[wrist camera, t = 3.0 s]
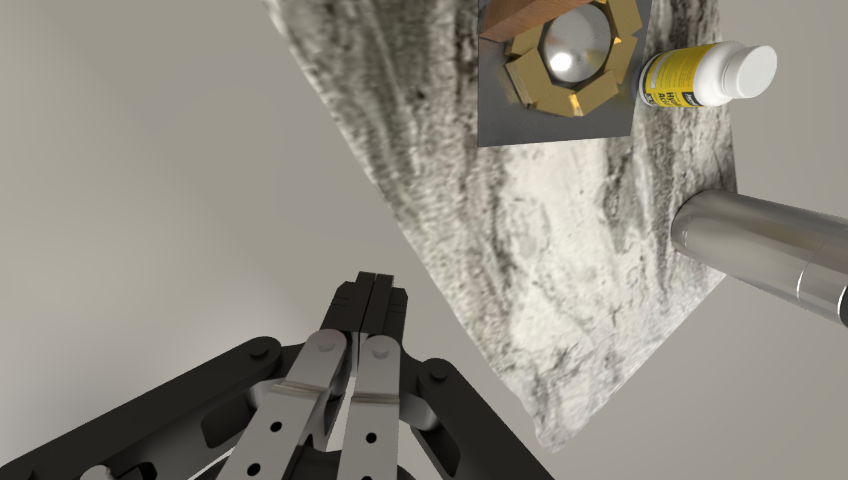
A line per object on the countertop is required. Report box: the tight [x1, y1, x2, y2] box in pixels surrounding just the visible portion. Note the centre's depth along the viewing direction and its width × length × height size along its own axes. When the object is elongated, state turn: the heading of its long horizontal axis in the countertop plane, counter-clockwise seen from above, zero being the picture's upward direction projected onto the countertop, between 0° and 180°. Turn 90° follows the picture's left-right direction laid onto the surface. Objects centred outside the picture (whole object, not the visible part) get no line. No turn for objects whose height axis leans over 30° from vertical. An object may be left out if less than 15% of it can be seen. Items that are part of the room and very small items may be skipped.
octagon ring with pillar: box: [476, 0, 643, 118], centre depth 26 cm, size 16×12×17 cm
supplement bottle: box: [639, 41, 777, 107], centre depth 33 cm, size 5×5×10 cm
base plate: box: [478, 0, 652, 147], centre depth 33 cm, size 18×20×3 cm
